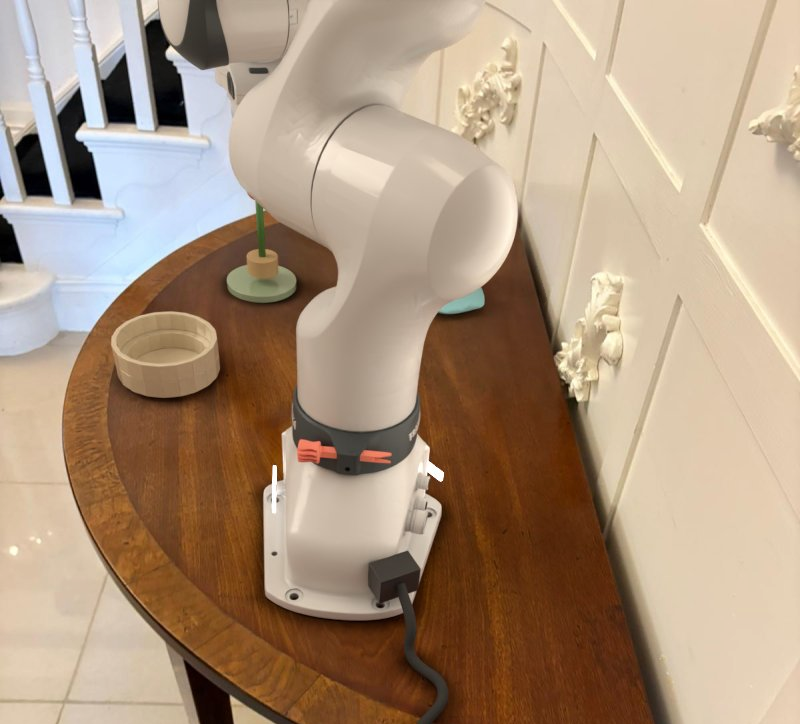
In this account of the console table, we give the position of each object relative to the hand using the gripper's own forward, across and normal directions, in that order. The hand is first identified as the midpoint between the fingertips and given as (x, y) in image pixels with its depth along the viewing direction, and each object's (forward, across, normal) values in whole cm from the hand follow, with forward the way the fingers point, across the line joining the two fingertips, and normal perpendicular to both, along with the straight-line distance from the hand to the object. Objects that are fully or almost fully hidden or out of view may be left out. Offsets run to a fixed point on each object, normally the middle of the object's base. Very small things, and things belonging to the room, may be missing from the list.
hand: (258, 183), depth 105 cm
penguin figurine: (+15, +4, +26) cm, 30 cm away
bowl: (+15, +20, -15) cm, 29 cm away
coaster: (+15, 0, 0) cm, 15 cm away
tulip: (+12, 0, 0) cm, 12 cm away
